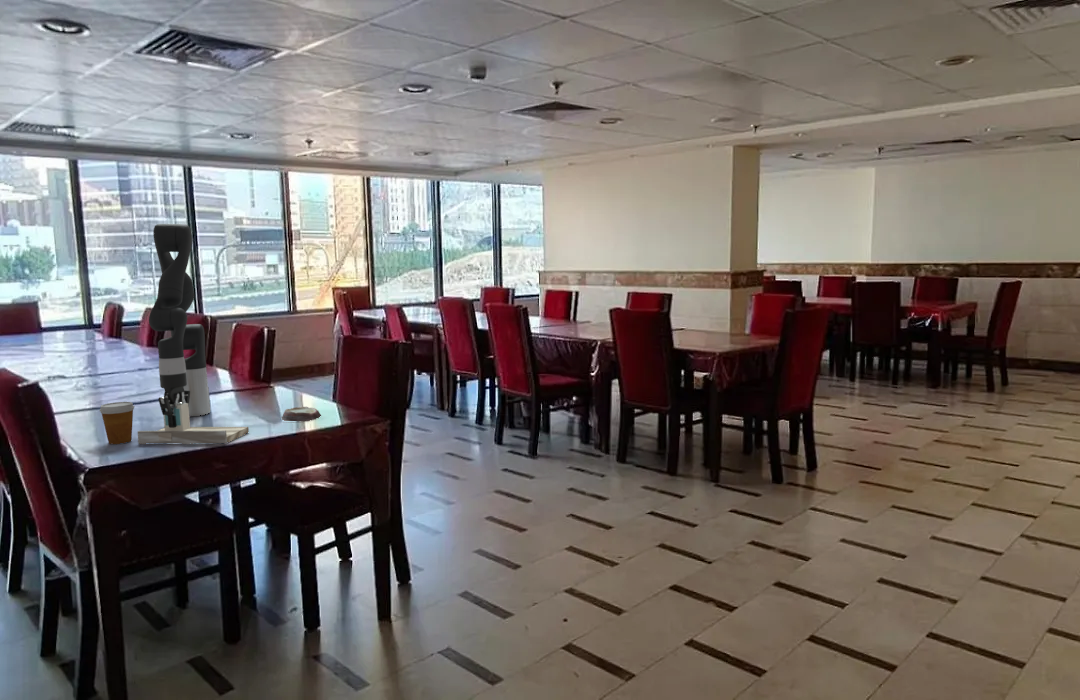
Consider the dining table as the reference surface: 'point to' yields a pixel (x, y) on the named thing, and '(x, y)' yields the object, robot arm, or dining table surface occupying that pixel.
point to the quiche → (300, 414)
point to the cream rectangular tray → (192, 435)
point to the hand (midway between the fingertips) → (177, 425)
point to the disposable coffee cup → (118, 421)
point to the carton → (179, 418)
